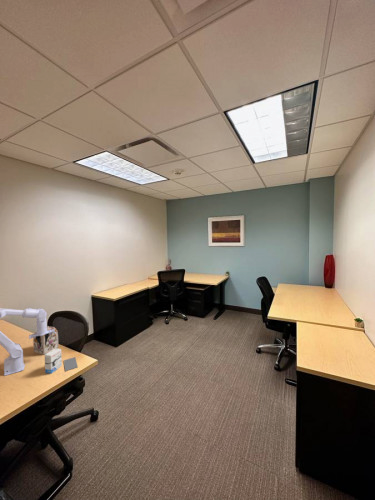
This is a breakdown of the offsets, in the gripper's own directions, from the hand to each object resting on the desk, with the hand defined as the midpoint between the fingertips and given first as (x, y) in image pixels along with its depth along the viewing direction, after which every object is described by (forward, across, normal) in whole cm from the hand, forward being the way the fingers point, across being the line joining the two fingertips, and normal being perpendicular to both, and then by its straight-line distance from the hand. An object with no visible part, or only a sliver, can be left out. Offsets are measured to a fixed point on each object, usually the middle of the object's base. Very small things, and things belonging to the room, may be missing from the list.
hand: (43, 345), depth 141 cm
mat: (+11, +15, -17) cm, 25 cm away
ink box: (+11, +5, -17) cm, 21 cm away
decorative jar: (+11, +1, +15) cm, 18 cm away
